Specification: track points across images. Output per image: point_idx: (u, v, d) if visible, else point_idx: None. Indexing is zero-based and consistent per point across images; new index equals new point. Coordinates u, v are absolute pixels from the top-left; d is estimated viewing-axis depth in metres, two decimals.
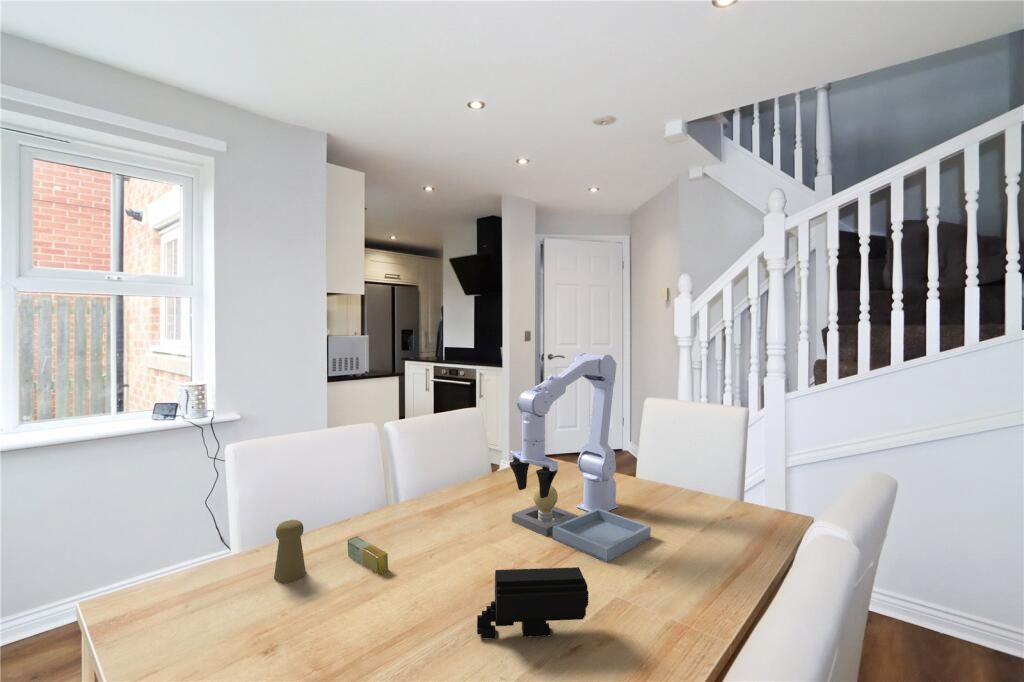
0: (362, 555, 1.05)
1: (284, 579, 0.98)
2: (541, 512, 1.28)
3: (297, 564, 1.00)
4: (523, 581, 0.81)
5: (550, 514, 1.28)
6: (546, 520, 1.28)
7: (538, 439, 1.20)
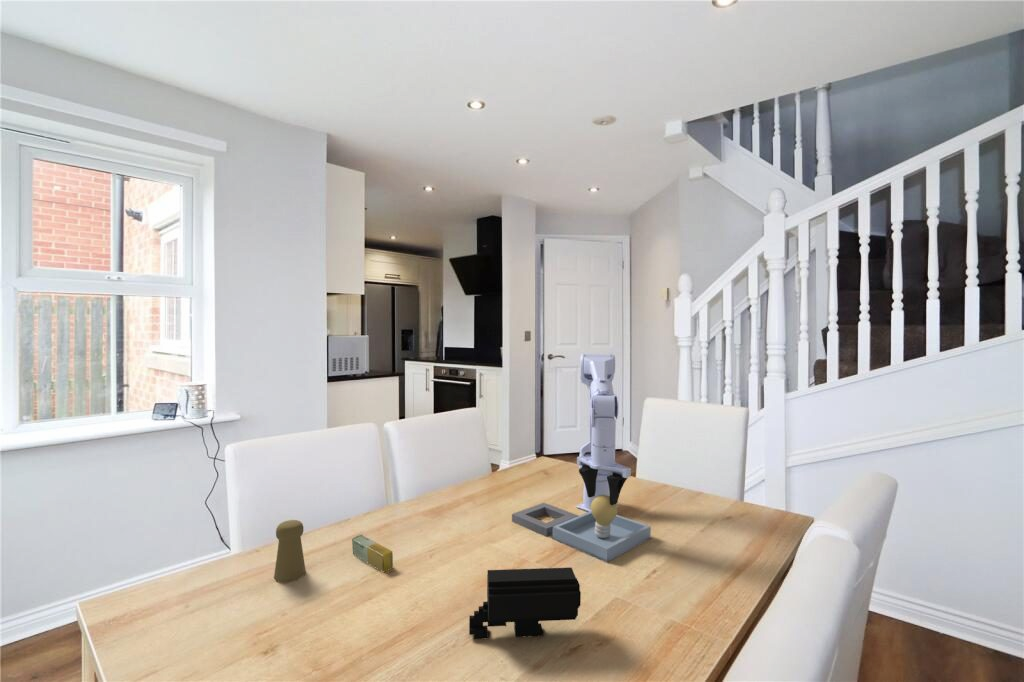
0: (367, 553, 1.06)
1: (284, 579, 0.98)
2: (598, 525, 1.18)
3: (297, 564, 1.00)
4: (515, 581, 0.81)
5: (608, 528, 1.18)
6: (603, 534, 1.18)
7: (614, 443, 1.18)
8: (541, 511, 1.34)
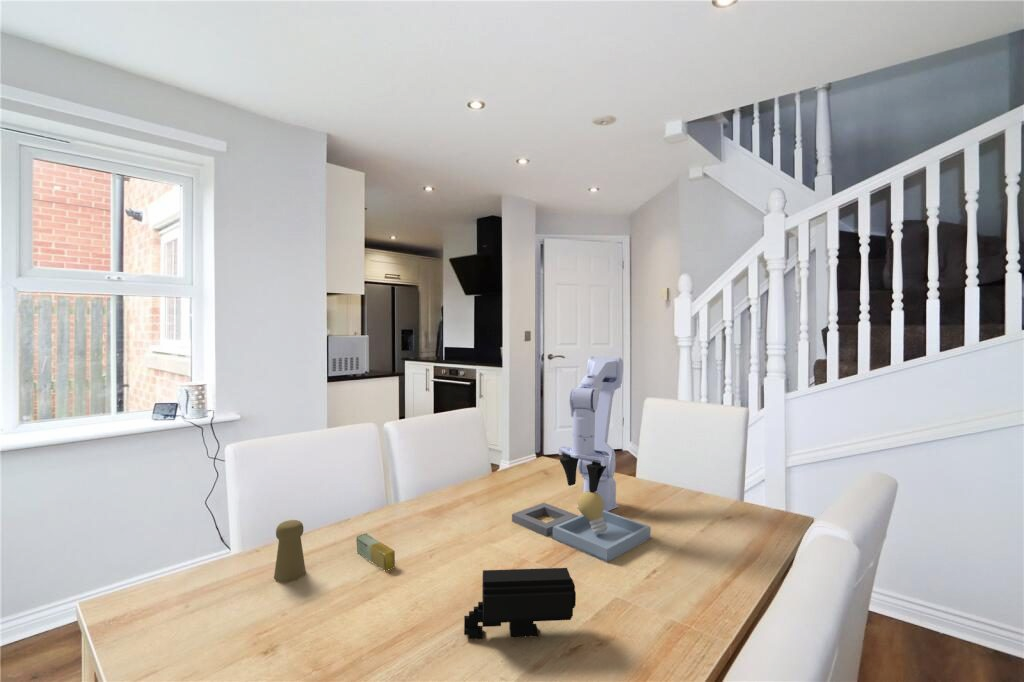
0: (370, 552, 1.07)
1: (284, 579, 0.98)
2: (592, 521, 1.20)
3: (297, 564, 1.00)
4: (510, 581, 0.81)
5: (601, 520, 1.19)
6: (599, 527, 1.19)
7: (593, 434, 1.23)
8: (541, 511, 1.34)
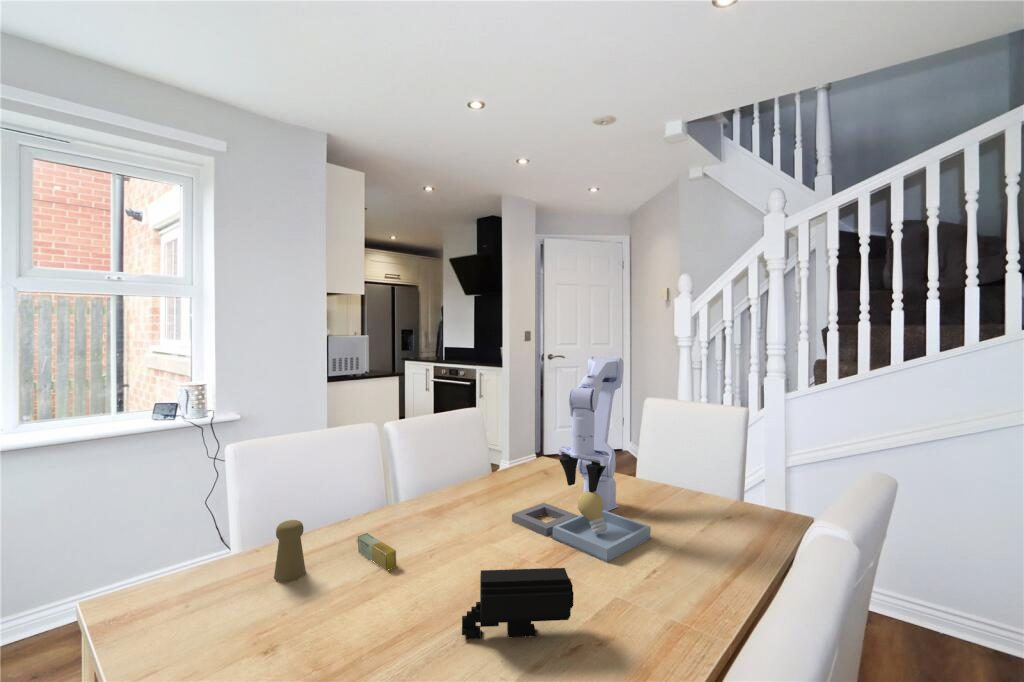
0: (371, 552, 1.07)
1: (284, 579, 0.98)
2: (592, 521, 1.20)
3: (297, 564, 1.00)
4: (507, 581, 0.81)
5: (601, 520, 1.19)
6: (599, 527, 1.19)
7: (592, 434, 1.23)
8: (541, 511, 1.34)
